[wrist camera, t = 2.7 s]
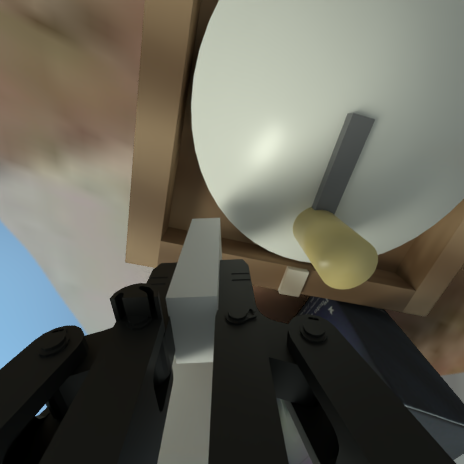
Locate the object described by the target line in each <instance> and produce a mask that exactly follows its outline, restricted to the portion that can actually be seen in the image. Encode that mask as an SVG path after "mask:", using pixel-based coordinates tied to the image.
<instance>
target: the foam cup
mask: <svg viewBox="0 0 464 464" xmlns="http://www.w3.org/2000/svg"><path fill="white" fill-rule="evenodd" d="M172 369H173V385H172V390H171V395H170V400H169V406H168V411H167V416H166V421H165V426H164V431H163V436H162V442H161V447H160V452H159V457H158V462H157V464H208V457H209V436H210V415H211V394H212V373H213V362H202V363H180V364H177V363H176V358H175V355H174V360H173V364H172Z"/></svg>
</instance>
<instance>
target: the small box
mask: <svg viewBox="0 0 464 464" xmlns="http://www.w3.org/2000/svg"><path fill="white" fill-rule="evenodd" d="M304 314H311V315H316V316H320V317H322V318H324V319H326V320H328V321H329V322H330V323H331V324H333V325H334V326H335V327H336V328H337V329H338V331H339V332H340V333H341V334H342V335H343V336H344V337H345V338H346V340H347V341H348V342H349V343H350V344H351V345H352V346H353V347H354V349H355V350H356V351H357V352H358V353H359V354H360V355H361V357H362V358H363V359H364V360H365V361H366V362H367V363H368V364H369V366H370V367H371V368H372V369H373V370H374V371H375V372H376V373H377V375H378V376H379V377H380V378H381V379H382V380H383V381H384V383H385V384H386V385H387V386H388V387H389V388H390V389H391V390H392V392H393V393H394V394H395V395H396V396H397V397H398V398H399V399H400V401H401V402H402V403H403V404H404V405H405V406H406V407H407V409H408V410H409V411H410V412H411V413H412V414H413V415H414V416H415V418H416V419H417V420H418V421H419V422H420V423H421V424H422V426H423V427H424V428H425V429H426V430H427V431H428V432H429V433H430V435H431V436H432V437H433V438H434V439H435V440H436V441H437V442H438V444H439V445H440V446H441V447H442V448H443V449H444V450H445V452H446V453H447V454H448V455H449V456H450V457H451V458H452V459H453V460H454V459H456V458H457V457H459V456H461V455H462V454H464V404H463V403H462V401H461V400H460V399H459V397H458V396H457V395H456V394H455V393H454V392H453V390H452V389H451V388H450V387H449V386H448V384H447V383H446V382H445V381H444V380H443V378H442V377H441V376H440V375H439V373H438V372H437V371H436V370H435V369H434V368H433V366H432V365H431V364H430V363H429V362H428V361H427V359H426V358H425V357H424V356H423V355H422V353H421V352H420V351H419V350H418V349H417V347H416V346H415V345H414V344H413V343H412V341H411V340H410V339H409V338H408V337H407V335H406V334H405V333H404V332H403V331H402V330H401V328H400V327H399V326H398V325H397V324H396V323H395V321H394V320H393V319H392V318H391V317H390V316H389V314H388V313H387V312H386V311H385V310H384V309H381V308H375V307H369V306H364V305H358V304H353V303H347V302H342V301H336V300H331V299H325V298H320V297H314V296H311V297H310V298H309V299H308V301H307V302H306V303H305V305H304V306H303V307H302V309H301V310H300V311H299V313H298V314H297V315H296V316H299V315H304ZM276 399H277V404H278V410H279V415H280V420H281V425H282V430H283V436H284V441H285V446H286V451H287V457H288V462H289V464H313V463H312V461H311V459H310V457H309V455H308V452H307V450H306V448H305V446H304V444H303V442H302V439H301V437H300V435H299V433H298V431H297V428H296V426H295V424H294V422H293V420H292V417H291V415H290V413H289V411H288V409H287V406H286V404H285V402H284V400H283V399H279V398H276Z"/></svg>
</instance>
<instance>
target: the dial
mask: <svg viewBox="0 0 464 464" xmlns="http://www.w3.org/2000/svg"><path fill="white" fill-rule="evenodd" d="M191 114H192V132H193V139H194V146H195V151H196V155H197V159H198V162H199V166H200V170H201V172H202V175H203V177H204V180H205V182H206V185H207V187H208V189H209V191H210V193H211V195H212V196H213V198H214V200H215V202H216V203H217V205H218V207H219V208H220V209H221V210H222V212H223V213H224V214H225V216H226V217H227V218H228V220H229V221H230V222H231V223H232V224H233V225H234V226H235V227H236V228H237V229H238V230H239V231H240V232H241V233H243V234H244V235H245V236H246V237H248V238H249V239H250V240H252V241H253V242H254V243H256V244H258V245H260V246H261V247H263V248H265V249H267V250H268V251H270V252H273V253H275V254H278V255H280V256H283V257H286V258H290V259H293V260H297V261H302V262H309V263H312V265H313V266H314V268H315V269H316V271H317V272H318V274H319V276H320V277H321V279H322V280H323V282H324V283H325V284H327V285H328V286H330V287H332V288H335V289H351V288H354V287H357V286H359V285H361V284H362V283H364V282H365V281H367V280H368V279H369V278H370V277H371V276H372V274H373V273H374V271H375V269H376V267H377V264H378V255H379V254H382V253H385V252H387V251H390V250H392V249H394V248H397V247H399V246H401V245H403V244H405V243H406V242H408V241H410V240H412V239H414V238H416V237H417V236H419V235H420V234H422V233H423V232H425V231H426V230H428V229H429V228H431V227H432V226H434V225H435V224H436V223H437V222H438V221H440V220H441V219H442V218H443V217H445V216H446V215H447V214H448V213H450V212H451V211H452V210H453V209H454V208H455V207H456V206H457V205H458V204H459V203H460V202H461V201H462V200H463V199H464V0H219V1H218V3H217V6H216V8H215V10H214V12H213V14H212V16H211V18H210V20H209V23H208V26H207V29H206V32H205V35H204V37H203V40H202V43H201V46H200V49H199V54H198V59H197V63H196V68H195V73H194V78H193V89H192V100H191Z"/></svg>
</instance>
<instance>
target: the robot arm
mask: <svg viewBox="0 0 464 464" xmlns="http://www.w3.org/2000/svg"><path fill="white" fill-rule="evenodd" d="M110 301H111V305H112V308H113V312H114V315H115V319H116V323H115V325H114V327H113V328H110V329H107V330H104V331H101V332H97V333H93V334H90V335H86V336H84V333H83V331H82V329H81V328H79V327H77V326H63V327H59V328H55V329H53V330H51V331H49V332H47V333H45V334H43V335H42V336H40V337H39V338H37V339H36V340H34V341H33V342H32V343H31V344H30V345H28V346H27V347H26V348H25V349H24V350H23V351H21V352H20V353H19V354H18V355H17V356H16V357H14V358H13V359H12V360H11V361H10V362H9V363H7V364H6V365H5V366H4V367H3V368H2V369H0V464H157V462H158V457H159V452H160V447H161V442H162V436H163V431H164V426H165V421H166V416H167V411H168V406H169V400H170V395H171V390H172V385H173V369H172V364H173V360H174V355H175V358H176V363H177V364H180V363H202V362H213V373H212V394H211V415H210V436H209V457H208V464H289V462H288V457H287V451H286V446H285V441H284V436H283V430H282V425H281V420H280V415H279V410H278V404H277V399H276V398H279V399H283V400H284V402H285V404H286V406H287V409H288V411H289V413H290V415H291V417H292V420H293V422H294V424H295V426H296V428H297V431H298V433H299V435H300V437H301V439H302V442H303V444H304V446H305V448H306V450H307V452H308V455H309V457H310V459H311V461H312V463H313V464H456V463H455V462H454V461H453V459H452V458H451V457H450V456H449V455H448V454H447V453H446V452H445V450H444V449H443V448H442V447H441V446H440V445H439V444H438V442H437V441H436V440H435V439H434V438H433V437H432V436H431V435H430V433H429V432H428V431H427V430H426V429H425V428H424V427H423V426H422V424H421V423H420V422H419V421H418V420H417V419H416V418H415V416H414V415H413V414H412V413H411V412H410V411H409V410H408V409H407V407H406V406H405V405H404V404H403V403H402V402H401V401H400V399H399V398H398V397H397V396H396V395H395V394H394V393H393V392H392V390H391V389H390V388H389V387H388V386H387V385H386V384H385V383H384V381H383V380H382V379H381V378H380V377H379V376H378V375H377V373H376V372H375V371H374V370H373V369H372V368H371V367H370V366H369V364H368V363H367V362H366V361H365V360H364V359H363V358H362V357H361V355H360V354H359V353H358V352H357V351H356V350H355V349H354V347H353V346H352V345H351V344H350V343H349V342H348V341H347V340H346V338H345V337H344V336H343V335H342V334H341V333H340V332H339V331H338V329H337V328H336V327H335V326H334V325H333V324H331V323H330V322H329V321H328V320H326V319H324V318H322V317H320V316H316V315H311V314H304V315H299V316H296V317H294V318H293V319H292V320H291V321H290V322H289V324H286V323H281V322H277V321H273V320H270V319H268V318H266V317H265V316H263V315H262V314H261V313H260V312H259V311H258V309H257V307H256V304H255V298H254V293H253V287H252V282H251V276H250V271H249V265H248V264H247V263H246V262H245V261H244V260H243V259H232V260H222V247H221V226H220V218H199V219H192V221H191V224H190V227H189V230H188V233H187V236H186V239H185V242H184V245H183V248H182V251H181V254H180V257H179V260H178V262H175V263H161V264H159V265H158V266H157V267H156V268H155V269H153V271H152V273H151V275H150V277H149V279H148V281H147V283H146V284H144V283H140V284H133V285H130V286H127V287H124V288H122V289H121V290H119V291H117V292H116V293H115V294H114V295H113V296H112V297H111V298H110ZM45 404H46V405H47V408H46V409H45V410H44V411H43V412H42V413H41V414H40V415H38V416H35V415H36V414H37V413H38V412H39V410H40V409H41V408H42V407H43V406H44V405H45Z"/></svg>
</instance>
